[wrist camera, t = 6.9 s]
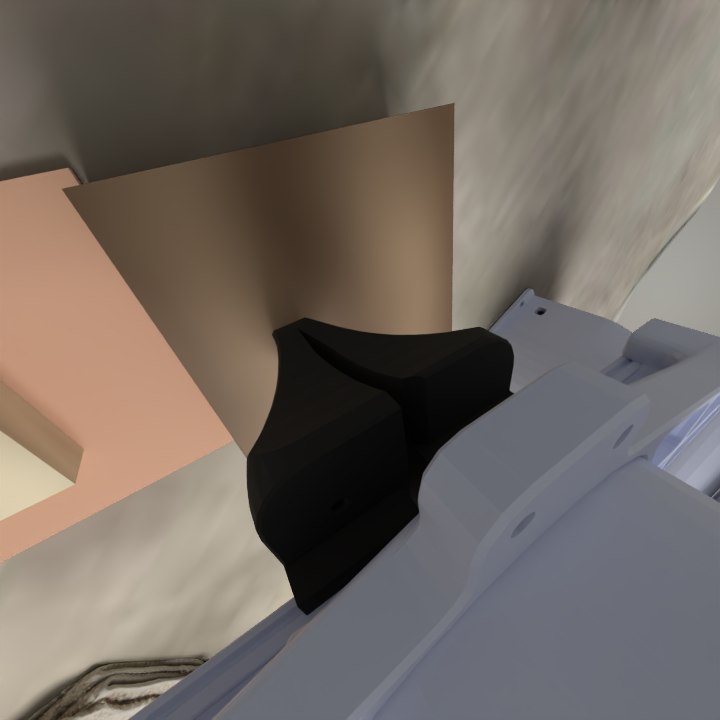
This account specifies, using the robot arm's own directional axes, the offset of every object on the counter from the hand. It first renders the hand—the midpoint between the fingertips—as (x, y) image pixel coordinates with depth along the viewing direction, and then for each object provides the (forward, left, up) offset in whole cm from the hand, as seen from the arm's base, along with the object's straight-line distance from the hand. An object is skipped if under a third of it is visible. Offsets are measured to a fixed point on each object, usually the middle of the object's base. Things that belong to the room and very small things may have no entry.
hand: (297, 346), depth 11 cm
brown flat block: (-2, +1, -5) cm, 5 cm away
